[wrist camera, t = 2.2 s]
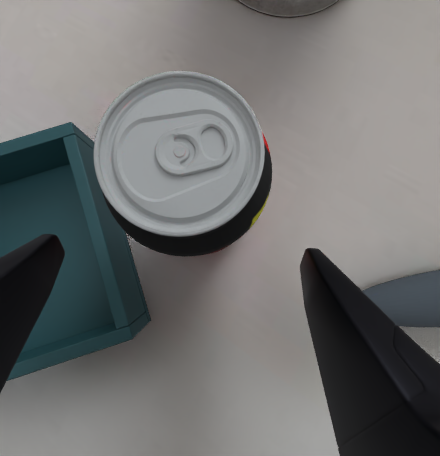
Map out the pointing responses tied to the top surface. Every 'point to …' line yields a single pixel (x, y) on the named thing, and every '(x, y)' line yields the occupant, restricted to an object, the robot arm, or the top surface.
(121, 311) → the tote
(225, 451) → the top surface
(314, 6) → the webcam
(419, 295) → the paintbrush
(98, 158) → the beverage can
